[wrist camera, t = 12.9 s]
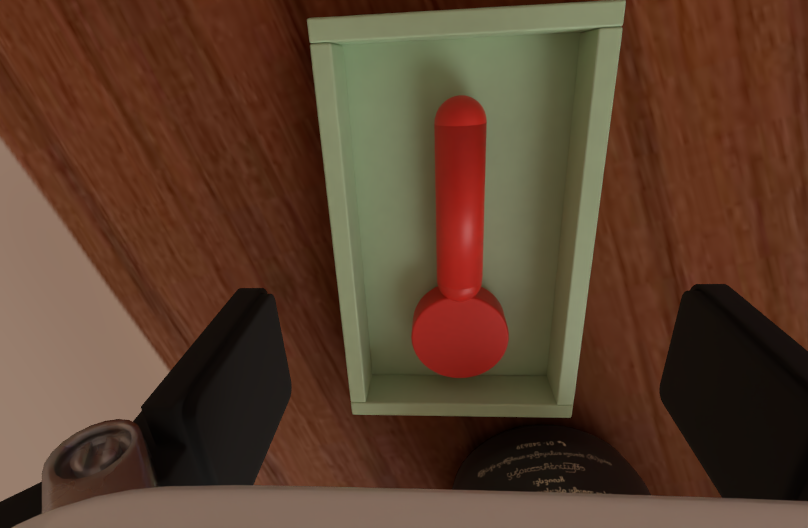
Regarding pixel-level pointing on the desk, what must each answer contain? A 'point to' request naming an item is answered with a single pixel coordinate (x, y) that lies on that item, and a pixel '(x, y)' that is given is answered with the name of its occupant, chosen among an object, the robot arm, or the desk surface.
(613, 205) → the desk surface
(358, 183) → the tray
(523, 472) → the jar
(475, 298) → the red spoon
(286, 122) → the desk surface
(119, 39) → the desk surface
